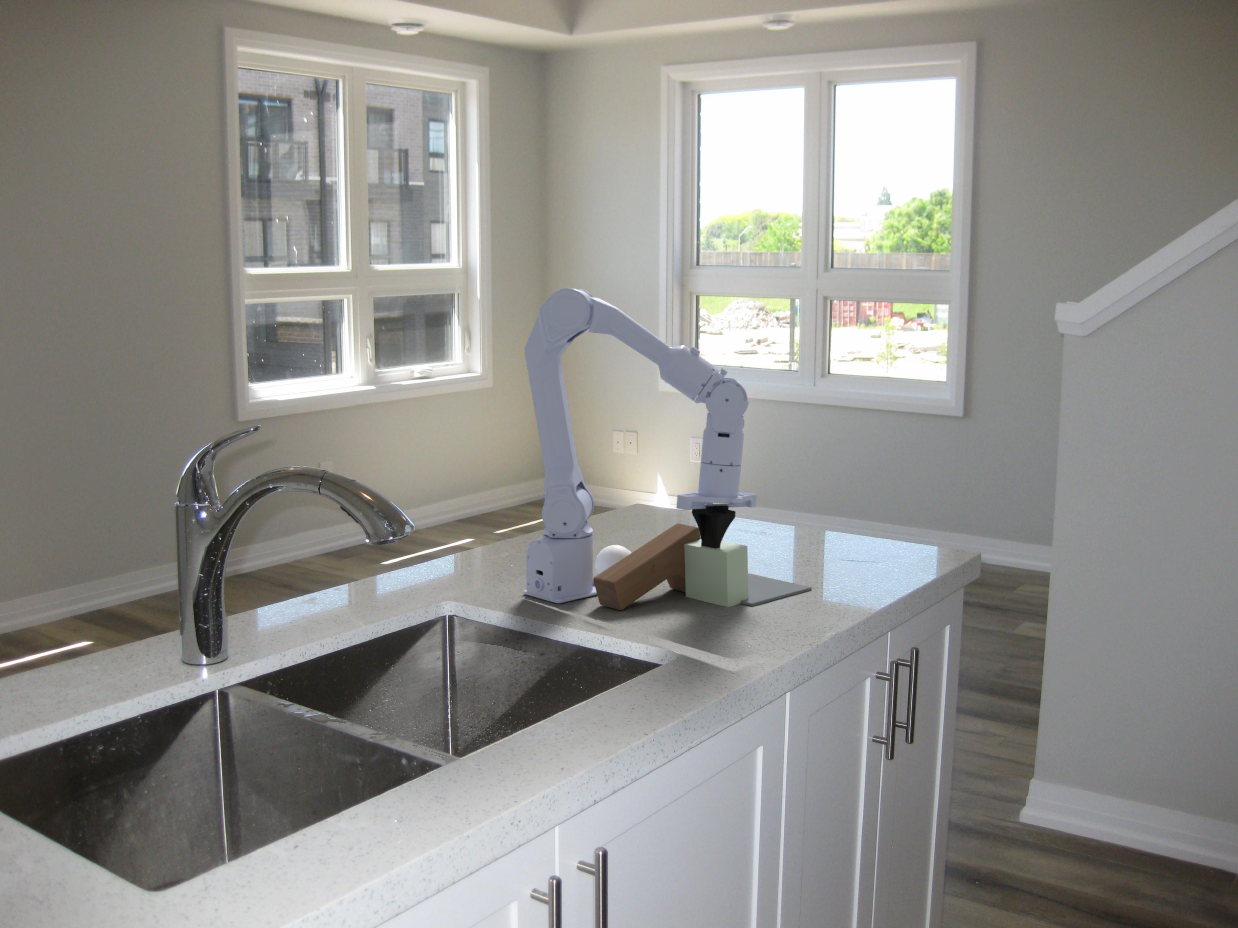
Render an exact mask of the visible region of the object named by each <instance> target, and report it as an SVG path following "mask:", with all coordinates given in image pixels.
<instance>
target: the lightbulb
mask: <svg viewBox="0 0 1238 928" xmlns="http://www.w3.org/2000/svg"><path fill="white" fill-rule="evenodd" d="M631 553H632V552H631V551H630V550H629V549H628V548H627V547H625V546H622V545H619V544H612V545H609V546H605V547H604V548H603V549H601V550H600V551H599V552H598V554H597V556H596V557H595V562H594V563H595V564H594V570H595V572H596V576H597V575H598V574H600V573H602V572H603V571H605V570H606V569H608V568H609V567H611V566H612V565H614V564H615V563H617V562H618V561H620V560H621V559H623V558H625V557H626V556H628V555H629V554H631Z"/></svg>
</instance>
